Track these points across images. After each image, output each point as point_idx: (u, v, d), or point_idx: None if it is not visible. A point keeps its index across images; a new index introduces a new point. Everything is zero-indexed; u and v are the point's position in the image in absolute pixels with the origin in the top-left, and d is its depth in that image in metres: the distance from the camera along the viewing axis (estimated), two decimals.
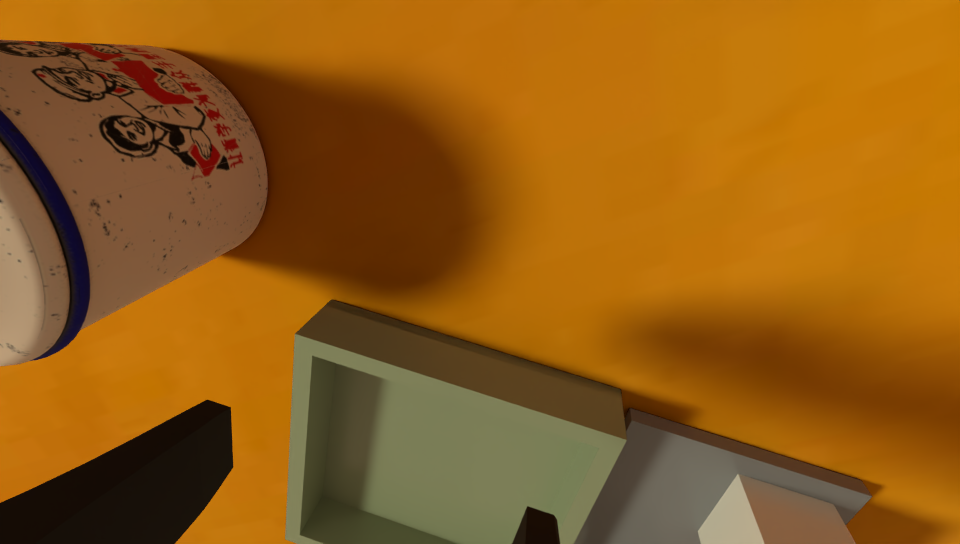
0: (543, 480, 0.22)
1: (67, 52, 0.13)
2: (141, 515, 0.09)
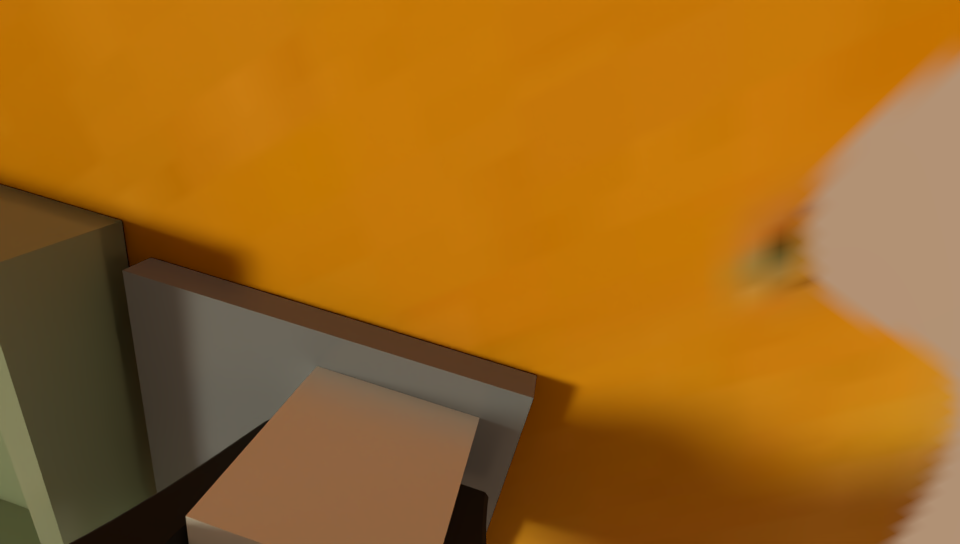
0: None
1: None
2: None
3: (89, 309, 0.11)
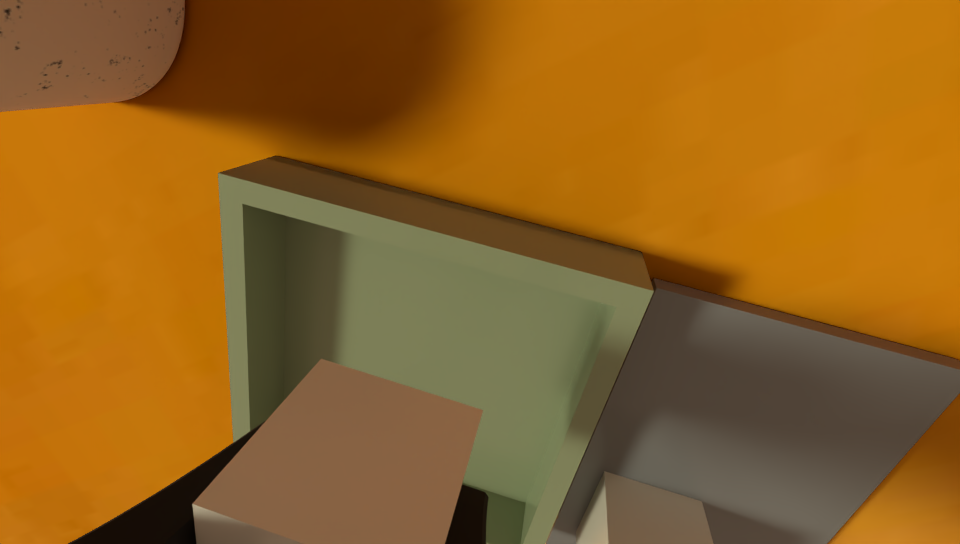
0: (546, 383, 0.18)
1: None
2: None
3: None
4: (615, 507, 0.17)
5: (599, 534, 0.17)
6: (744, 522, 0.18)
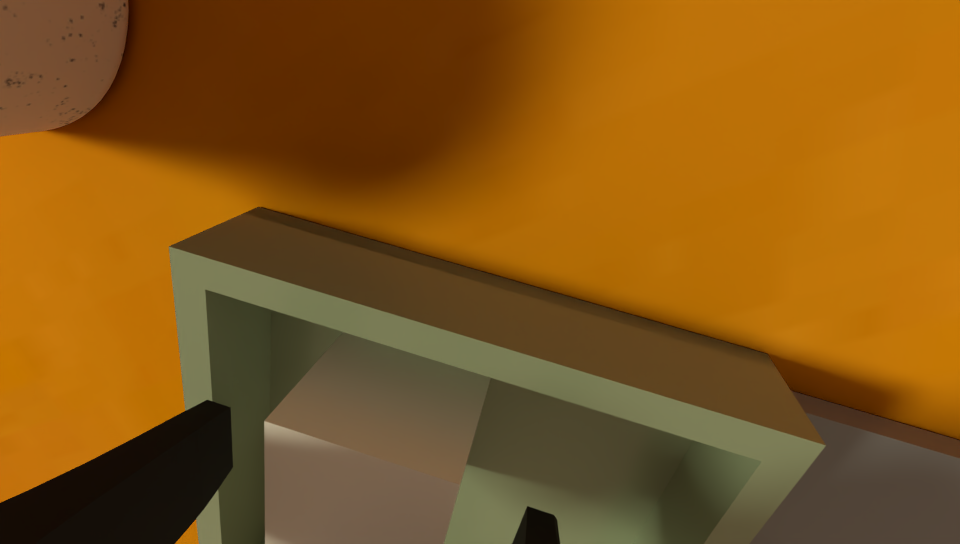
0: (616, 510, 0.13)
1: None
2: (141, 515, 0.09)
3: None
4: None
5: None
6: None
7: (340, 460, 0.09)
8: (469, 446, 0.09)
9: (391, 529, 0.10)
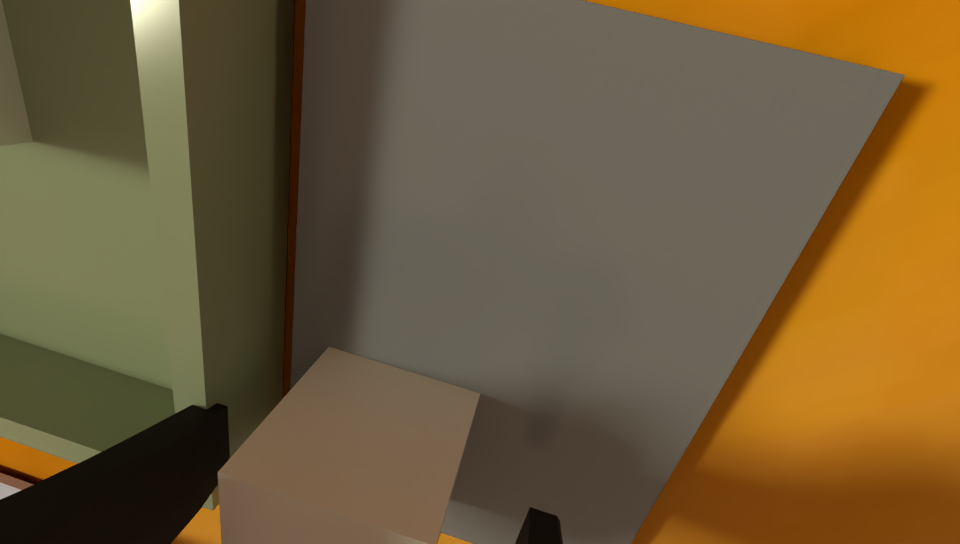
0: None
1: None
2: (137, 513, 0.09)
3: None
4: (308, 391, 0.10)
5: None
6: (550, 428, 0.11)
7: None
8: None
9: None
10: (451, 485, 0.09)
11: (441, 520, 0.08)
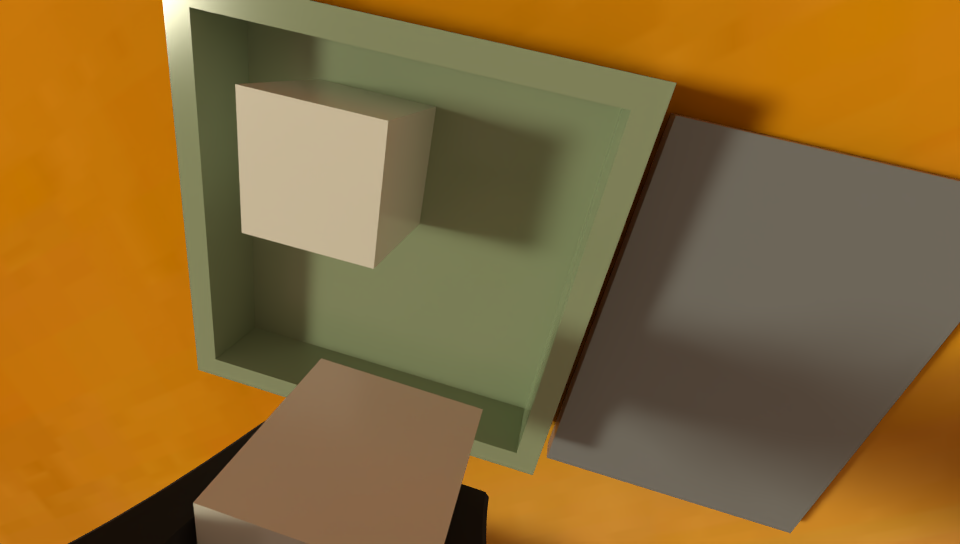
0: (546, 254, 0.16)
1: None
2: None
3: None
4: (297, 408, 0.09)
5: None
6: (772, 416, 0.16)
7: (295, 116, 0.11)
8: (401, 116, 0.12)
9: (340, 187, 0.12)
10: (450, 515, 0.08)
11: None
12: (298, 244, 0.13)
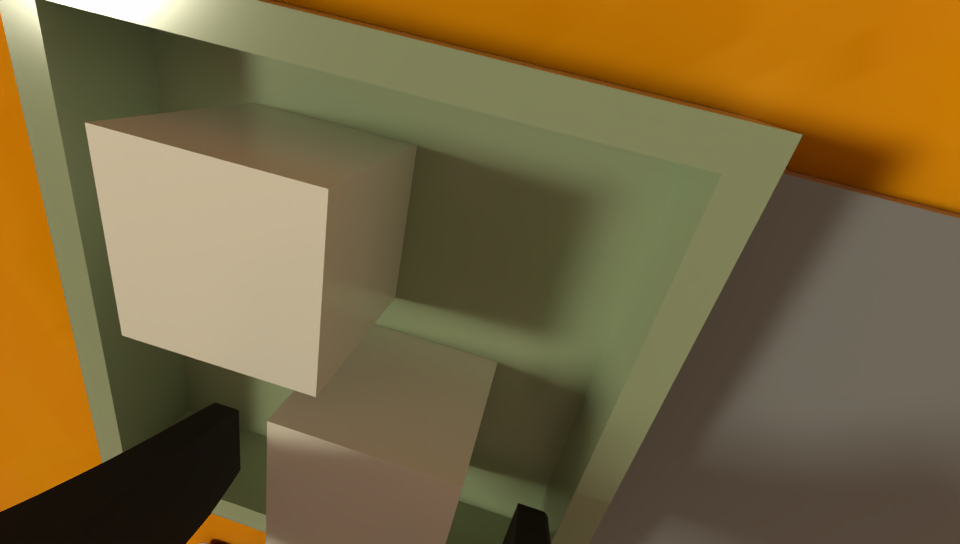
0: (567, 345, 0.11)
1: None
2: (150, 518, 0.09)
3: None
4: None
5: None
6: None
7: (182, 175, 0.07)
8: (355, 174, 0.07)
9: (258, 282, 0.08)
10: (474, 438, 0.10)
11: (467, 466, 0.09)
12: (204, 356, 0.09)
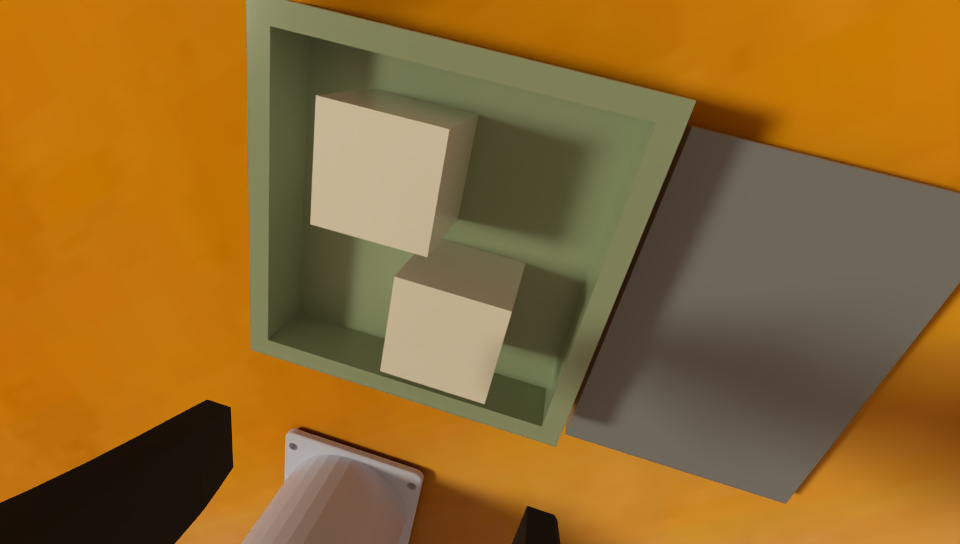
0: (572, 248, 0.18)
1: None
2: (141, 515, 0.09)
3: None
4: None
5: None
6: (771, 395, 0.18)
7: (367, 123, 0.13)
8: (456, 124, 0.14)
9: (402, 185, 0.14)
10: (515, 294, 0.16)
11: (513, 304, 0.15)
12: (360, 235, 0.15)
